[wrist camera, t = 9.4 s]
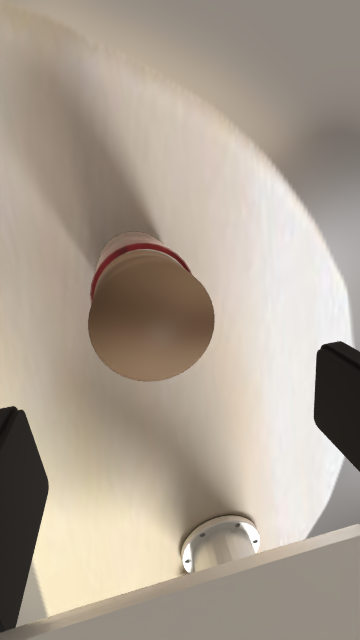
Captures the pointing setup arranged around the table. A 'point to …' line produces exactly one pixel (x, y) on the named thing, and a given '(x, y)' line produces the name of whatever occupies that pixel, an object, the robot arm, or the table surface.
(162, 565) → the table surface
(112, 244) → the soda can
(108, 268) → the tan short cylinder
